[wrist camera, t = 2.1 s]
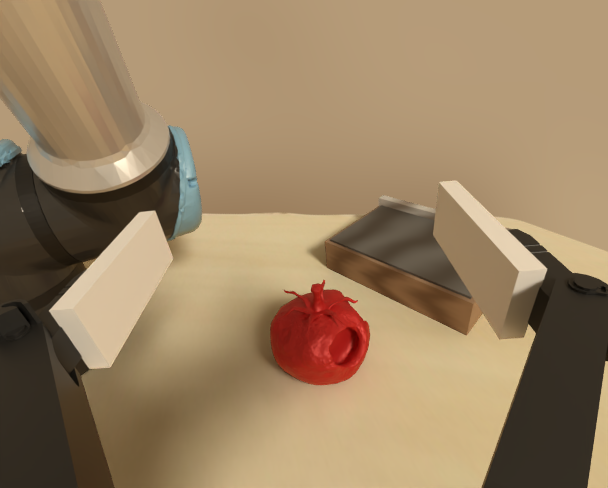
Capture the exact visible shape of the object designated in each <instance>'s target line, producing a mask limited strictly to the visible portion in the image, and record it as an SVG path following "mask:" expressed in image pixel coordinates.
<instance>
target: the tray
mask: <svg viewBox="0 0 608 488" xmlns="http://www.w3.org/2000/svg"><path fill="white" fill-rule="evenodd" d="M435 212H436V209H433V208H429V207H425V206H422V205H418V204H414V203H410V202H406V201H403V200H399V199H395V198H391V197H388V196H384V195H383V196H382V197H380V198H379V206H378V207H377V208H375V209H374V210H372V211H371V212H369V213H367V214H366V215H364V216H363V217H361V218H360V219H358V220H357V221H355V222H354V223H352V224H351V225H349V226H348V227H346V228H345V229H343V230H342V231H340V232H339V233H337V234H335V235H334V236H332V237H331V238H329V239H328V240H326V241H325V248H326V260H327V268H329V269H331V270H333V271H335V272H337V273H339V274H341V275H343V276H346V277H348V278H350V279H352V280H354V281H356V282H358V283H360V284H362V285H364V286H366V287H368V288H370V289H372V290H374V291H376V292H378V293H381V294H383V295H385V296H387V297H389V298H391V299H393V300H395V301H397V302H399V303H401V304H403V305H405V306H407V307H409V308H411V309H414V310H416V311H418V312H420V313H422V314H424V315H426V316H428V317H430V318H432V319H434V320H436V321H438V322H440V323H442V324H444V325H447V326H449V327H451V328H453V329H455V330H457V331H459V332H461V333H463V334H465V335H467V334H468V333H469V331H470V330H471V328H472V327H473V326H474V324H475V323H476V322H477V320H478V319H479V318H480V316H481V315H482V311H481V309H480V308H479V306H478V305H477V303H476V302H475V300H474V298H473V297H472V295H471V294H470V292H469V291H468V289H467V287H466V286H465V284H464V283H463V281H462V280H461V278H460V276H459V275H458V273H457V272H456V270H455V269H454V267H453V265H452V264H451V262H450V261H449V259H448V258H447V256H446V255H445V253H444V251H443V250H442V248H441V247H440V245H439V244H438V242H437V240H436V239H435V237H434V236H433V230H434V221H435ZM506 229H507V230H512V229H509V228H506Z"/></svg>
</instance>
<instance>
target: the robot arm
mask: <svg viewBox="0 0 608 488" xmlns="http://www.w3.org/2000/svg"><path fill="white" fill-rule="evenodd" d="M0 99H1V100H2V101H3V102H4V104H5V105H6V106H7V107H8V109H9V110H10V111H11V112H12V114H13V115H14V116H15V117H16V118H17V120H18V121H19V122H20V124H21V125H22V126H23V127H24V128H25V130H26V131H27V132H28V133H29V135H30V136H31V137H30V140H29V142H28V146H27V154H22V153H21V148H20V147H19V146H17V145H16V144H15V143H14V142H13V141H11V140H8V139H2V140H0V488H114V484H113V481H112V478H111V474H110V471H109V468H108V465H107V461H106V458H105V455H104V451H103V448H102V445H101V442H100V438H99V435H98V432H97V428H96V425H95V422H94V419H93V415H92V412H91V409H90V405H89V402H88V399H87V396H86V392H85V389H84V386H83V382H82V379H81V376H80V375H81V374H83V373H85V372H86V371H88V370H89V369H97V368H111V366H112V364H113V362H114V361H115V359H116V357H117V355H118V354H119V352H120V350H121V348H122V347H123V345H124V343H125V342H126V340H127V338H128V336H129V335H130V333H131V331H132V329H133V328H134V326H135V324H136V323H137V321H138V319H139V317H140V316H141V314H142V312H143V310H144V309H145V307H146V305H147V303H148V302H149V300H150V298H151V297H152V295H153V293H154V291H155V290H156V288H157V286H158V284H159V283H160V281H161V279H162V278H163V276H164V274H165V272H166V271H167V269H168V267H169V265H170V264H171V262H172V260H173V259H174V258H173V256H172V253H171V251H170V248H169V245H168V243H167V241H171V240H173V239H174V238H175V237H178V236H181V235H184V234H188V233H191V232H193V231H195V230H196V229H197V228H198V227H199V225H200V223H201V220H202V207H201V198H200V192H199V186H198V183H197V177H196V170H195V165H194V161H193V157H192V153H191V149H190V146H189V142H188V139H187V136H186V134H185V132H184V130H183V129H182V128H180V127H173V126H170V125H169V126H167V123H166V122H165V120H164V118H163V117H162V115H161V114H160V113H159V112H158V111H157V110H155V109H154V108H153V107H151V106H150V105H148V104H145V103H143V102H141V101H140V100H139V97H138V95H137V92H136V90H135V87H134V85H133V82H132V80H131V77H130V75H129V72H128V69H127V67H126V64H125V62H124V59H123V57H122V54H121V52H120V49H119V47H118V44H117V42H116V39H115V36H114V34H113V31H112V29H111V26H110V24H109V21H108V19H107V16H106V14H105V11H104V8H103V6H102V4H101V1H100V0H0ZM433 236H434V237H435V239H436V240H437V242H438V244H439V245H440V247H441V248H442V250H443V251H444V253H445V255H446V256H447V258H448V259H449V261H450V262H451V264H452V265H453V267H454V269H455V270H456V272H457V273H458V275H459V276H460V278H461V280H462V281H463V283H464V284H465V286H466V287H467V289H468V291H469V292H470V294H471V295H472V297H473V298H474V300H475V302H476V303H477V305H478V306H479V308H480V309H481V311H482V313H483V314H484V316H485V317H486V319H487V320H488V322H489V324H490V325H491V327H492V328H493V330H494V331H495V333H496V335H497V336H498V338H499V339H509V338H523V337H524V335H525V333H526V330H527V327H528V324H529V325H530V326H531V327H532V329H533V330H534V331H535V333H536V336H535V338H534V341H533V344H532V346H531V349H530V352H529V355H528V358H527V361H526V364H525V366H524V369H523V372H522V375H521V378H520V381H519V383H518V386H517V389H516V392H515V395H514V398H513V400H512V403H511V406H510V409H509V412H508V414H507V417H506V420H505V423H504V426H503V429H502V431H501V434H500V437H499V440H498V443H497V446H496V448H495V451H494V454H493V457H492V460H491V463H490V465H489V468H488V471H487V474H486V477H485V479H484V482H483V485H482V488H587V486H588V479H589V472H590V465H591V458H592V451H593V444H594V437H595V430H596V423H597V416H598V409H599V402H600V395H601V388H602V381H603V374H604V367H605V361H608V284H606V283H604V282H603V281H601V280H599V279H597V278H594V277H591V276H589V275H584V274H579V273H572V272H571V271H569V270H568V269H567V268H566V267H565V266H564V265H563V264H562V263H561V262H559V261H558V260H557V259H556V258H555V257H554V256H553V255H552V254H551V253H549V252H547V250H546V249H545V248H544V247H543V246H542V245H540V244H539V243H538V242H537V241H536V240H535V239H534V238H533V237H532V236H530V235H528V234H526V233H524V232H522V231H520V230H518V229H512V230H507V229H506V228H505V227H504V226H503V225H502V224H501V223H500V222H499V221H498V220H497V219H495V218H494V217H493V216H492V215H491V214H490V213H489V212H488V211H487V210H486V209H485V208H484V207H483V206H482V205H481V204H480V203H479V202H478V201H477V200H476V199H475V198H474V197H473V196H472V195H471V194H470V193H469V192H468V191H466V189H465V188H464V187H462V185H460V184H459V183H458V182H457V181H445V182H439V186H438V195H437V204H436V212H435V221H434V230H433ZM96 258H97V259H96ZM92 259H96V260H95V261H94V262H93V263H92V264H91V265H90V267H89V268H88V269H86V267H85V266H84V264H83V262H85V261H88V260H92Z"/></svg>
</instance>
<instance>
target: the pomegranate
mask: <svg viewBox="0 0 608 488" xmlns="http://www.w3.org/2000/svg"><path fill="white" fill-rule="evenodd" d="M324 284H325V280H323V283H322V284H313V285H312V288H311V292H312V293H307V294H304V295H298V294H297V293H296V292H294V291H291V292H289V291H285V290H284V291H285V292H286V293H291V294H295V295H296V296H297V298H295V299H294V300H292V301H290V302H289V303H287V304H285V305H283V306H282V307H281V308H280V310H279V311H278V313H277V314H276V316H275V317H274V319H273V320H272V323H271V328H270V337H271V346H272V351H273V355H274V358H275V360H276V362H277V363H278V365H279V366H280V367H281V368H282V369H283V370H284V371H285V372H287V373H289V374H290V375H291V376H293V377H295V378H297V379H299V380H301V381H303V382H306V383H309V384H313V385H328V384H336V383H338V382H342V381H345V380H347V379H349V378H350V377H352V376H353V375H354V374H355V373H356V371H357V370H358V369H359V367H360V365H361V364H362V362H363V360H364V358H365V355H366V352H367V350H368V346H369V340H370V332H369V325H368V323H367V321H363V319H362V318H361V316H360V315H359V314H358V313H357V311H355V310H354V309H353V307H351V306H350V304H349V302H348V301H350V302H352V303H356V302H357V301H358V300H357V301H354V300H352V299H350V298H349V297H344V296H343V295H342V293H341V292H340V291H338V290H323V288H324Z"/></svg>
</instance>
